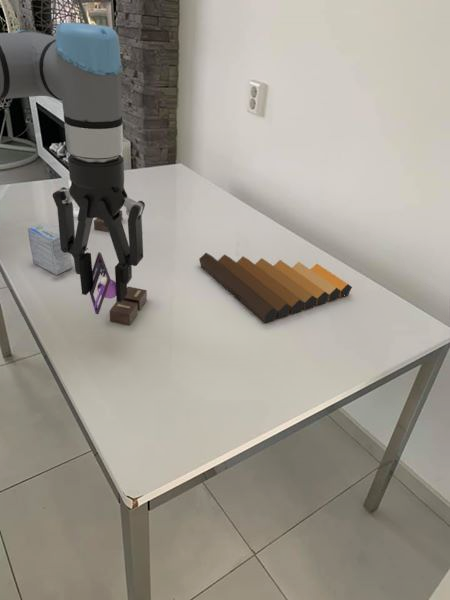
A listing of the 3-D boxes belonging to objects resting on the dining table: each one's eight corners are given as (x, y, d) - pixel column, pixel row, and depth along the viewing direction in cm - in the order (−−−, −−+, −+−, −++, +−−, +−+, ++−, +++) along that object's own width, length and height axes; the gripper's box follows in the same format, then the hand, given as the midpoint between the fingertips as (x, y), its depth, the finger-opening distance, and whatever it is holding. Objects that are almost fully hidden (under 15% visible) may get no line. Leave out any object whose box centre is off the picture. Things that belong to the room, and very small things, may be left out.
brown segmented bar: (109, 321, 86) (109, 309, 84) (128, 296, 93) (128, 285, 92) (129, 325, 85) (129, 314, 84) (146, 300, 92) (146, 289, 91)
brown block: (94, 229, 117) (93, 220, 115) (108, 216, 124) (108, 207, 123) (108, 232, 116) (108, 222, 115) (122, 219, 124) (122, 210, 122)
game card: (94, 250, 75) (103, 278, 68) (124, 256, 78) (135, 283, 71) (83, 284, 78) (91, 314, 71) (112, 289, 81) (122, 318, 74)
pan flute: (198, 266, 106) (262, 324, 89) (199, 254, 104) (265, 310, 87) (280, 247, 118) (349, 294, 102) (282, 235, 117) (353, 282, 100)
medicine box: (72, 268, 100) (69, 233, 95) (56, 276, 97) (51, 239, 92) (49, 256, 103) (44, 221, 98) (32, 263, 100) (26, 227, 95)
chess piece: (92, 212, 125) (89, 177, 120) (80, 218, 121) (77, 182, 116) (78, 208, 127) (74, 173, 121) (65, 214, 123) (62, 178, 117)
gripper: (167, 157, 65) (164, 293, 77) (49, 138, 67) (65, 273, 80) (149, 172, 58) (149, 317, 71) (19, 151, 61) (41, 295, 73)
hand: (104, 293), depth 75 cm, fingers closed on game card, 5 cm apart
